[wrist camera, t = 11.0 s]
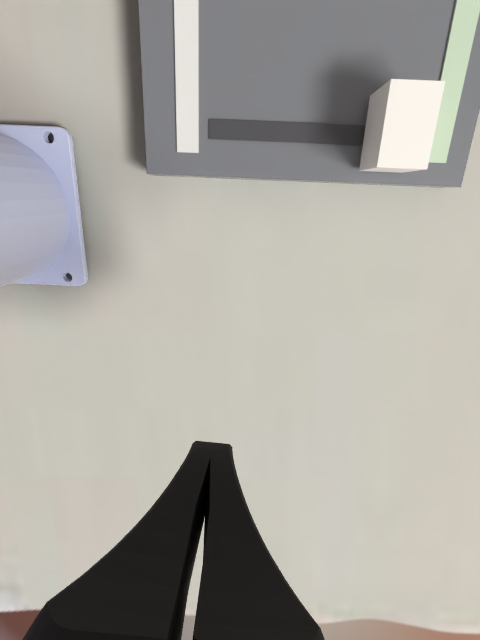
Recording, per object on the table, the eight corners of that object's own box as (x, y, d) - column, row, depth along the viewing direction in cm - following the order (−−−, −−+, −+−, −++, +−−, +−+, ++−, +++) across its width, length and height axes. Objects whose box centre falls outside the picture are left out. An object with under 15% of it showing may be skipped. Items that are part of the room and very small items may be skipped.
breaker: (359, 170, 16) (376, 167, 14) (370, 96, 15) (391, 78, 13) (402, 172, 16) (427, 169, 14) (416, 97, 15) (445, 80, 13)
